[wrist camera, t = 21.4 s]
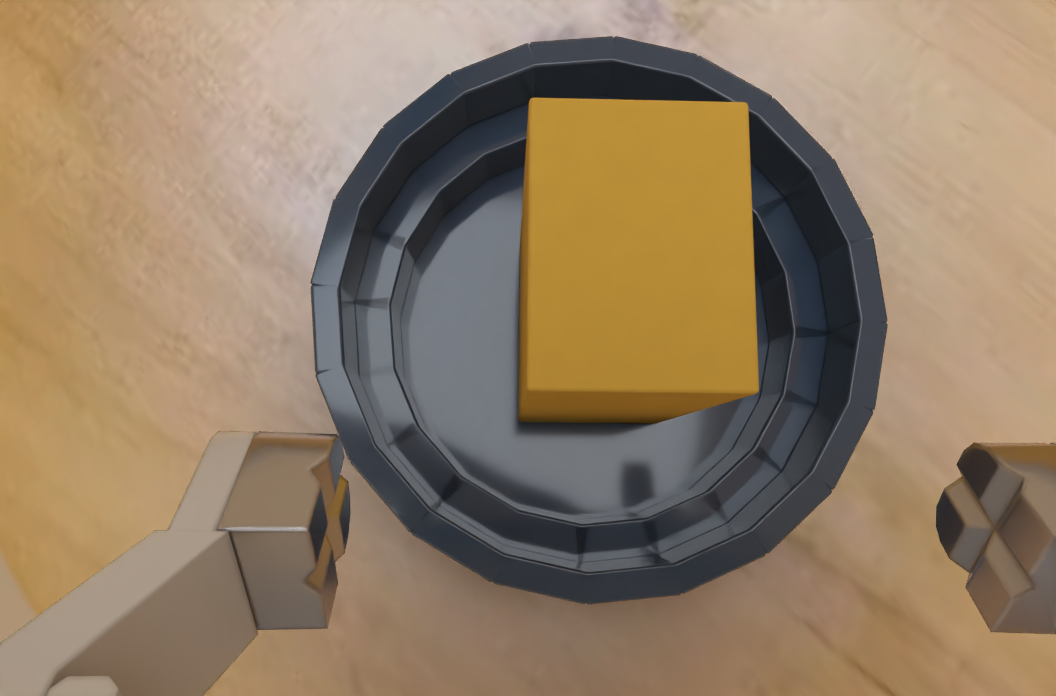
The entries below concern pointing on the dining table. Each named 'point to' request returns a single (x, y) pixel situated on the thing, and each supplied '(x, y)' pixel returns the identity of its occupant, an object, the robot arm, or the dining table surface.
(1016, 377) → the dining table surface
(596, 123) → the yellow rectangular block
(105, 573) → the robot arm
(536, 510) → the bowl
